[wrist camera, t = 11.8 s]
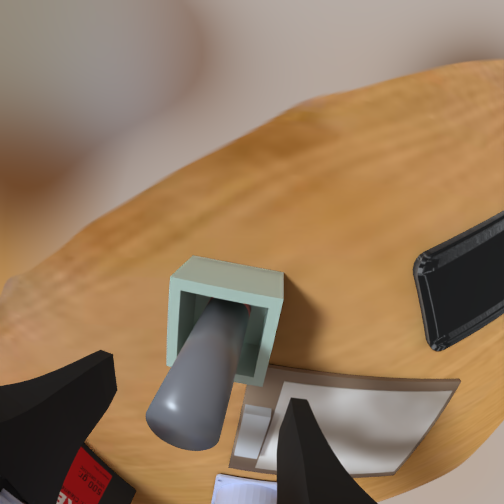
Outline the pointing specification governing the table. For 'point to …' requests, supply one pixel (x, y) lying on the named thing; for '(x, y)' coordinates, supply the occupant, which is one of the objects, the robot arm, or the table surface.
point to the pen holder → (233, 289)
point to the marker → (201, 379)
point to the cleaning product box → (93, 482)
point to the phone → (462, 283)
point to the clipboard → (342, 417)
